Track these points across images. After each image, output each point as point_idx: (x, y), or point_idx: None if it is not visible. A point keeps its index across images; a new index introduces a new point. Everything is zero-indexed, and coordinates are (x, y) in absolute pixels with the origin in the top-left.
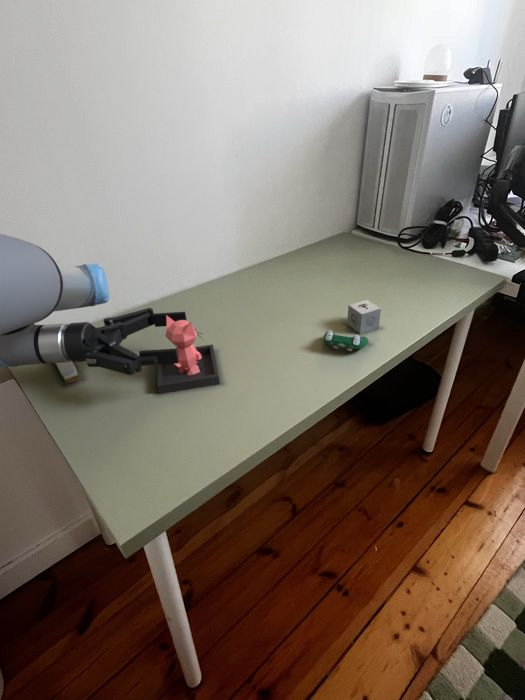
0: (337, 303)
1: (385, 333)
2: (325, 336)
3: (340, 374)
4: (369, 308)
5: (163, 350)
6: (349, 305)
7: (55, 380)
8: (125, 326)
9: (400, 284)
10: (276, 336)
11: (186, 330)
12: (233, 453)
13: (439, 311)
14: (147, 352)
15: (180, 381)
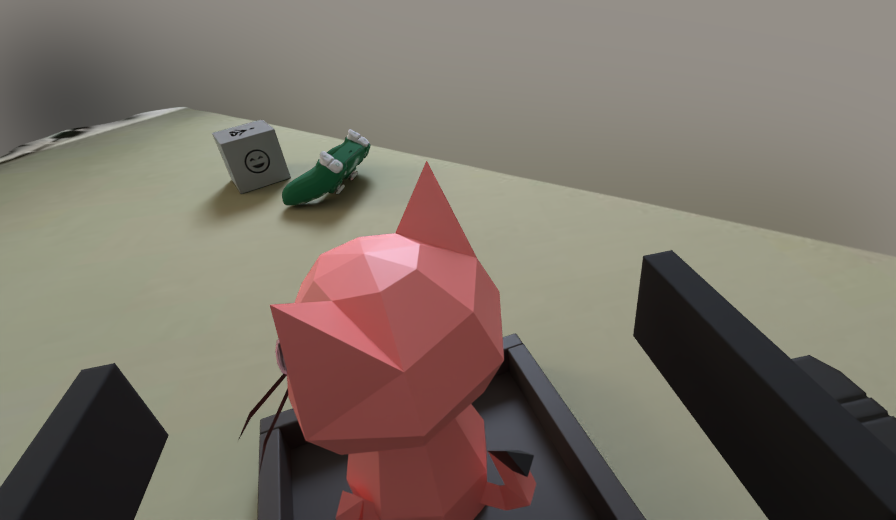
0: (129, 216)
1: (300, 158)
2: (328, 169)
3: (437, 178)
4: (254, 126)
5: (714, 308)
6: (224, 143)
7: None
8: None
9: (121, 163)
10: (237, 285)
11: (457, 227)
12: (814, 257)
13: None
14: (845, 410)
15: (604, 470)
